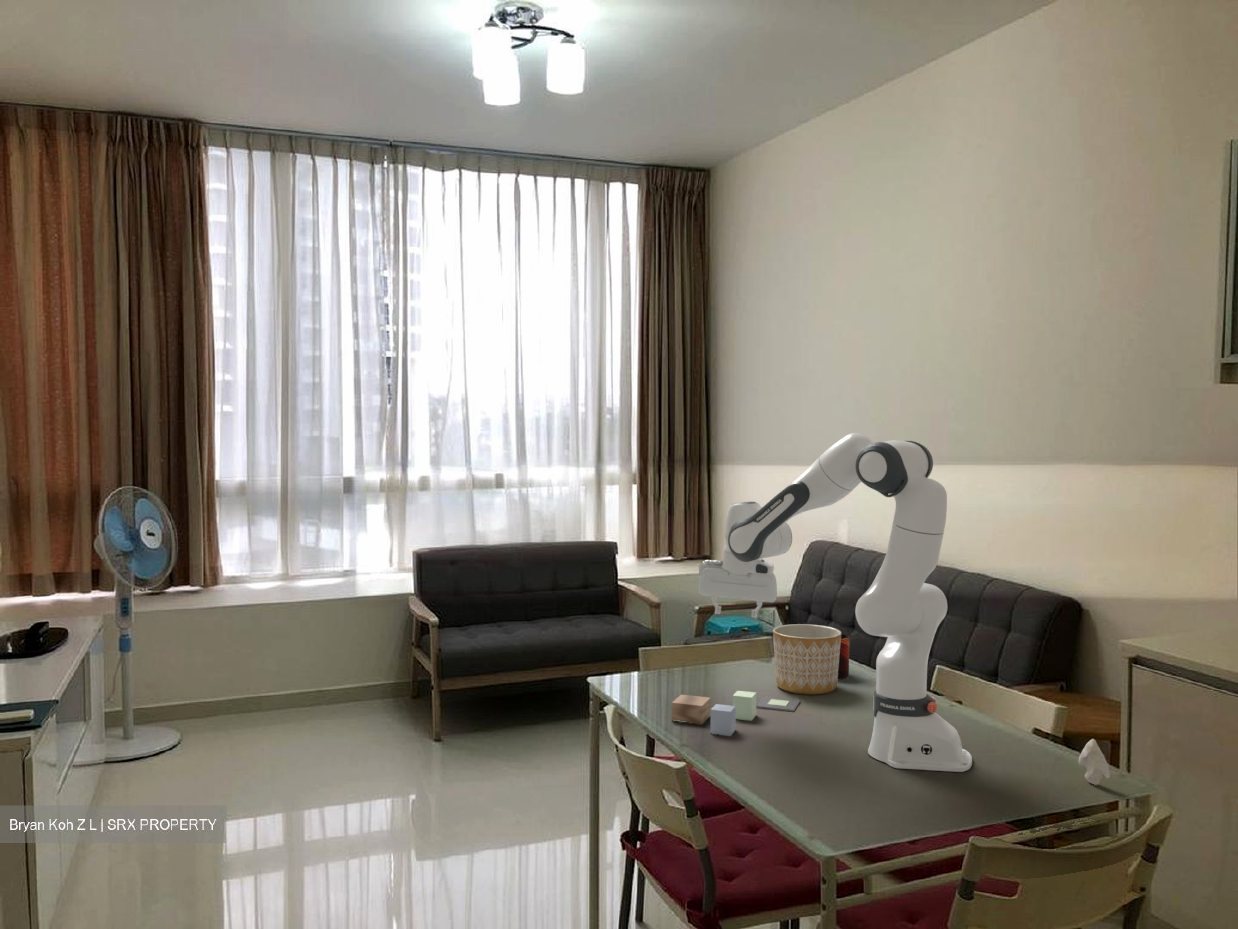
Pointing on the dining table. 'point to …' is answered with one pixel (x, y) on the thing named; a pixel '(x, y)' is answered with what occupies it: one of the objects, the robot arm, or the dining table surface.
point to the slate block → (723, 720)
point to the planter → (806, 658)
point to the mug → (844, 657)
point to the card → (778, 703)
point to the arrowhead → (1094, 762)
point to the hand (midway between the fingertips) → (735, 615)
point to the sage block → (745, 705)
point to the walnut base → (691, 708)
